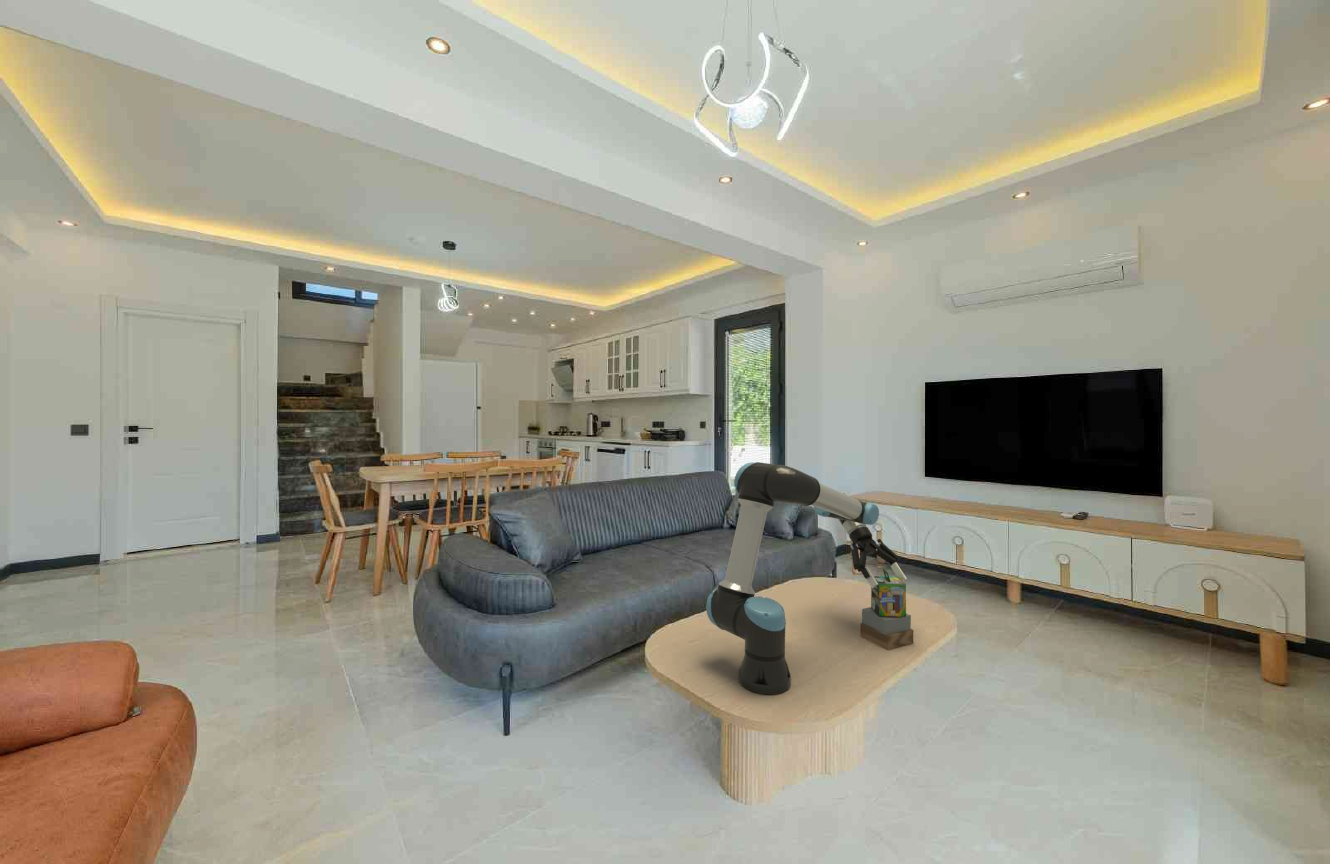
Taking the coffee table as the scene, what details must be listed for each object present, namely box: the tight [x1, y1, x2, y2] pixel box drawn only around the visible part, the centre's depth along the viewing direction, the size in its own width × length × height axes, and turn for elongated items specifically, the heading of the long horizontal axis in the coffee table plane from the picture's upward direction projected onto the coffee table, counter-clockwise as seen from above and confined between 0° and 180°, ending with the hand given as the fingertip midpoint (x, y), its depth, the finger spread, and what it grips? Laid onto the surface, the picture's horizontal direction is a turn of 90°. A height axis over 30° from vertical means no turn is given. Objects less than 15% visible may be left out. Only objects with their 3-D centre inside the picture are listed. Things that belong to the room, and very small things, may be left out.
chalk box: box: [870, 568, 907, 617], centre depth 181 cm, size 9×9×15 cm
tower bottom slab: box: [859, 622, 915, 651], centre depth 181 cm, size 12×12×5 cm
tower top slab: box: [861, 606, 912, 635], centre depth 181 cm, size 11×11×5 cm
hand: (889, 583), depth 180 cm, fingers open, 13 cm apart
